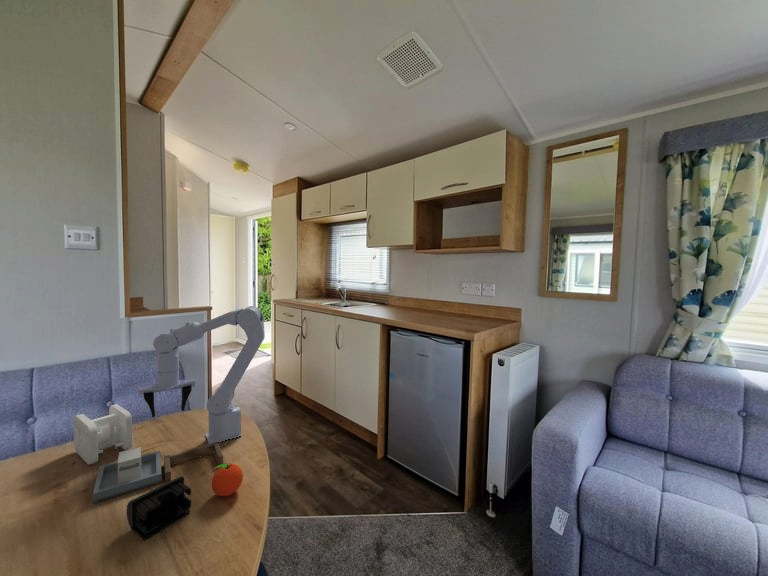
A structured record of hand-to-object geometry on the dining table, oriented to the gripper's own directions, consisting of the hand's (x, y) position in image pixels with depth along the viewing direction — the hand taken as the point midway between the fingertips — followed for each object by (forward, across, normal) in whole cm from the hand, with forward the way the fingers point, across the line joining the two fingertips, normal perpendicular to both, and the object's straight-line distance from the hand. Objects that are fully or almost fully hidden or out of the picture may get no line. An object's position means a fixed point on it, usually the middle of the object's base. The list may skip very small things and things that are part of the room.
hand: (168, 412), depth 100 cm
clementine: (+10, +10, -36) cm, 39 cm away
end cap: (+10, -3, -37) cm, 38 cm away
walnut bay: (+9, +5, -19) cm, 22 cm away
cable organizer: (+10, -16, +4) cm, 19 cm away
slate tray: (+9, -9, -16) cm, 21 cm away
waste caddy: (+9, -9, -16) cm, 21 cm away
